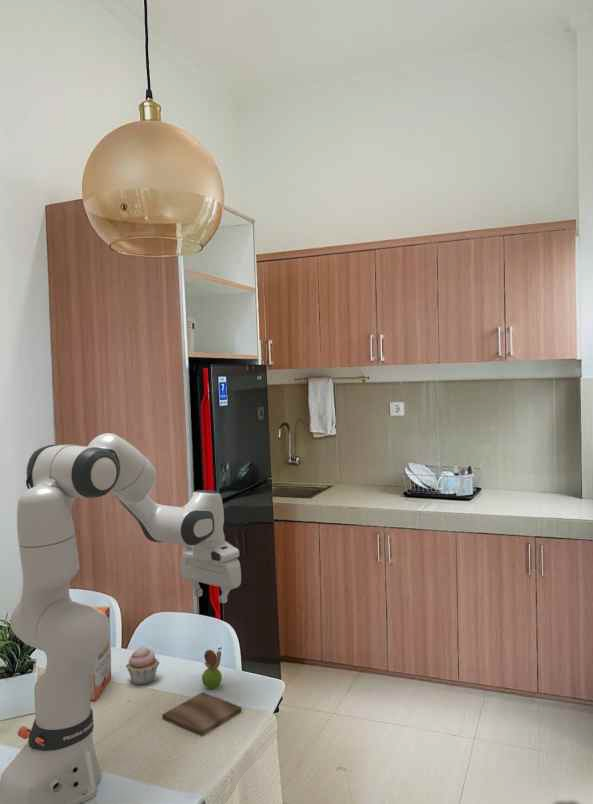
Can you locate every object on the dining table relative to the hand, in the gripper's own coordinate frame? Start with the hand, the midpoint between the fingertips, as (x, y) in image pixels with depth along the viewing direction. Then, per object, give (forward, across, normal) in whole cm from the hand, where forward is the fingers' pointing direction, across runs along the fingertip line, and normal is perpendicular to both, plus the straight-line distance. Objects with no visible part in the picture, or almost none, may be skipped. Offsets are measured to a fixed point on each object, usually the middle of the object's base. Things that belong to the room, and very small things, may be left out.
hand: (210, 599), depth 179 cm
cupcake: (+25, -20, -8) cm, 33 cm away
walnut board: (+25, +8, -12) cm, 29 cm away
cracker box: (+25, -27, -19) cm, 41 cm away
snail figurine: (+25, 0, 0) cm, 25 cm away
